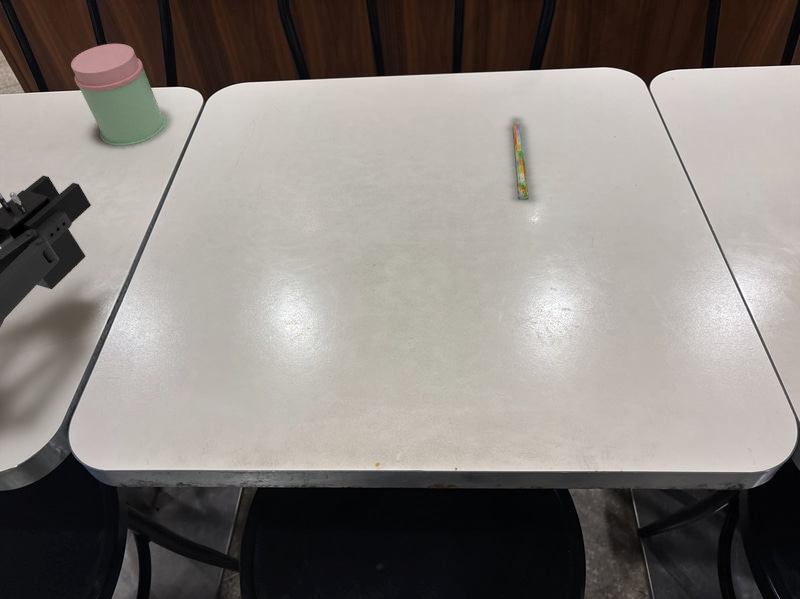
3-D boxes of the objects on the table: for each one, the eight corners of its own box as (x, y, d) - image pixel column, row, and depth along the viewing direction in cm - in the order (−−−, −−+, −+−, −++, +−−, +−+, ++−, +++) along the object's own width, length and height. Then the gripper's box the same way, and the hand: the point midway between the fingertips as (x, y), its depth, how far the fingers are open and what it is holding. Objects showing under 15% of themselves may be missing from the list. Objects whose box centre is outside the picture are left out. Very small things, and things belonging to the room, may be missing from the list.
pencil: (511, 122, 87) (518, 200, 75) (511, 115, 86) (518, 193, 74) (520, 122, 86) (528, 200, 74) (520, 115, 86) (529, 193, 74)
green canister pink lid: (89, 145, 89) (51, 73, 81) (122, 110, 96) (90, 40, 87) (148, 150, 88) (116, 77, 79) (178, 113, 94) (151, 42, 85)
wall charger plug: (27, 282, 60) (-33, 204, 52) (63, 249, 63) (10, 171, 55) (52, 290, 59) (-7, 211, 51) (86, 256, 62) (36, 177, 54)
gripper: (-178, 372, 51) (26, 203, 65) (-42, 429, 46) (146, 235, 60) (-256, 316, 45) (-14, 145, 59) (-110, 375, 40) (115, 174, 54)
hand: (66, 190), depth 59 cm, fingers closed on wall charger plug, 3 cm apart
